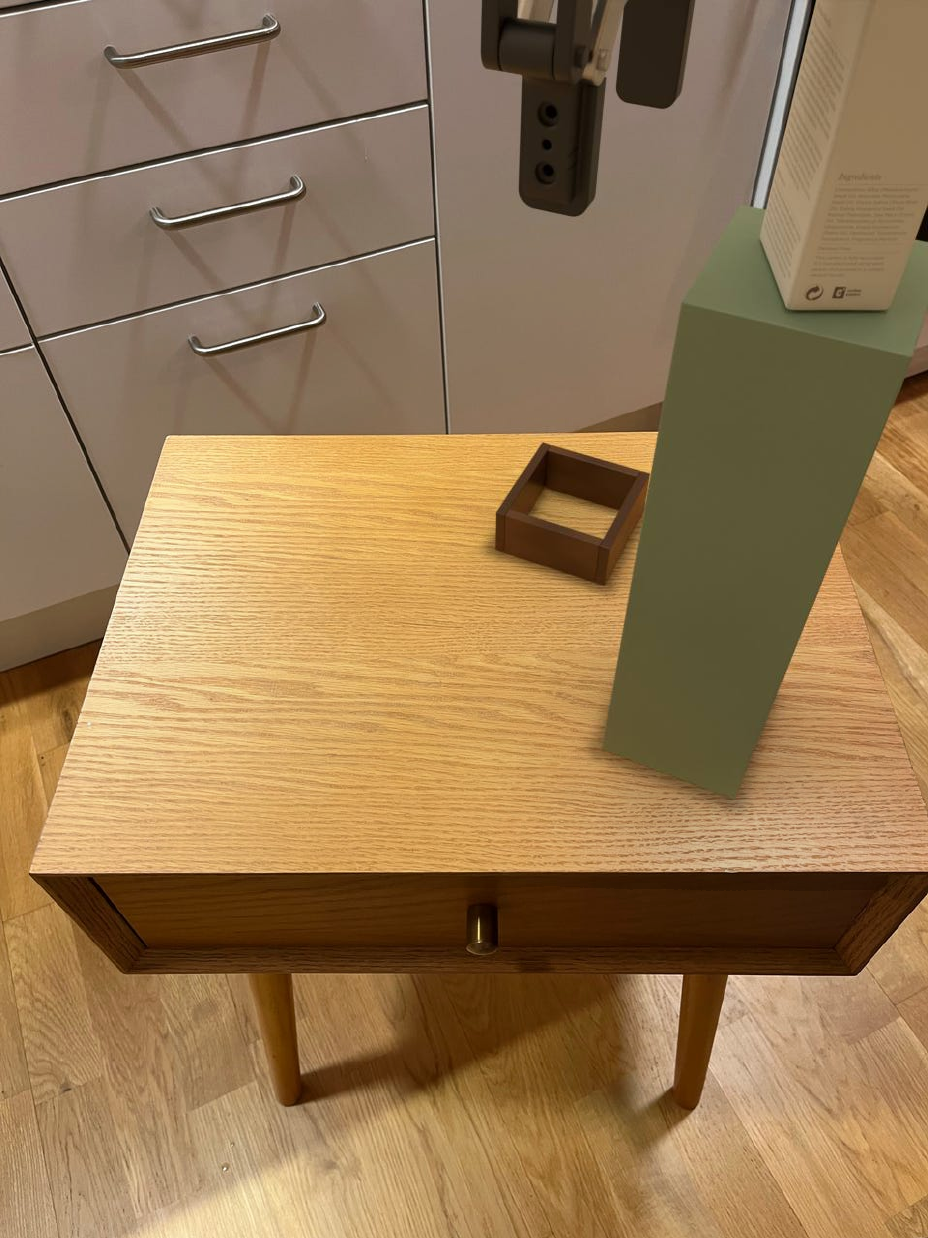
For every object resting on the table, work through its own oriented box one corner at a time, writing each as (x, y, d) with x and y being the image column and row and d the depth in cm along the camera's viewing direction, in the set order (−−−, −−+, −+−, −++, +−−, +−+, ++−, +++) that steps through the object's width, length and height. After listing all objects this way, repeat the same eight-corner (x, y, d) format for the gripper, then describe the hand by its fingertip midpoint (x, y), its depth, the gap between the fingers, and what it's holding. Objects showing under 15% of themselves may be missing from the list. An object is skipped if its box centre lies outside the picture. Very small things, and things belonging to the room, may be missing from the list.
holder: (643, 510, 78) (650, 473, 75) (604, 585, 73) (610, 549, 70) (539, 478, 81) (542, 441, 78) (494, 549, 76) (495, 512, 73)
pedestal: (769, 696, 66) (947, 244, 41) (734, 800, 61) (913, 356, 36) (645, 653, 69) (740, 203, 44) (601, 749, 64) (680, 301, 39)
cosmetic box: (892, 313, 38) (1025, -44, 29) (783, 314, 38) (881, -43, 29) (854, 236, 42) (960, -100, 33) (755, 236, 42) (833, -99, 33)
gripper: (789, -739, 14) (643, 281, 26) (935, -659, 22) (772, 89, 35) (344, -701, 16) (402, 225, 29) (627, -641, 24) (577, 57, 37)
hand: (605, 150), depth 32 cm, fingers open, 8 cm apart
